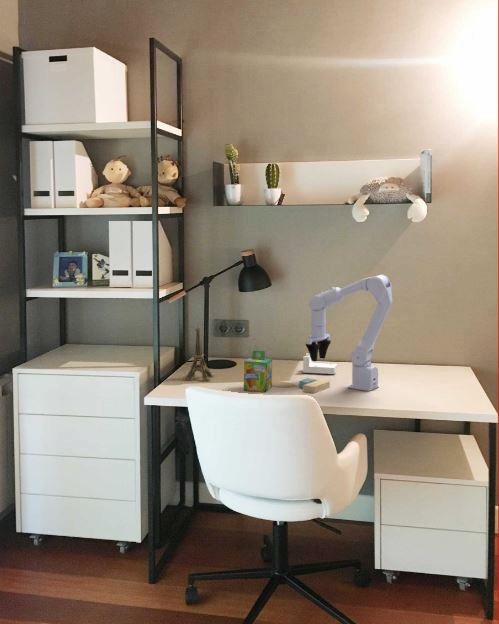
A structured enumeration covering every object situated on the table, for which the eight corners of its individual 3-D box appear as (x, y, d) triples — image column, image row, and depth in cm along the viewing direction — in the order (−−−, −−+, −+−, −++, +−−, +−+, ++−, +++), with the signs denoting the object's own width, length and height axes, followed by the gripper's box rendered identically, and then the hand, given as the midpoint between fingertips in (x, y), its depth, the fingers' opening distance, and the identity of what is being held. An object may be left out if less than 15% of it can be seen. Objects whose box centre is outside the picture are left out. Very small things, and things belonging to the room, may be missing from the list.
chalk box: (243, 391, 292) (243, 353, 290) (249, 385, 301) (249, 348, 299) (267, 392, 290) (267, 354, 288) (272, 386, 299) (272, 349, 297)
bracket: (303, 374, 320) (303, 356, 319) (306, 370, 327) (306, 353, 326) (334, 376, 317) (334, 358, 316) (336, 372, 324) (336, 354, 323)
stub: (316, 385, 300) (316, 379, 299) (307, 388, 295) (307, 382, 295) (307, 384, 302) (307, 377, 302) (299, 387, 297) (299, 380, 297)
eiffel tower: (189, 375, 319) (188, 315, 316) (214, 376, 318) (213, 316, 314) (183, 381, 309) (182, 319, 305) (209, 382, 307) (208, 320, 304)
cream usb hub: (329, 387, 297) (329, 381, 297) (314, 393, 288) (314, 386, 288) (318, 385, 300) (318, 379, 300) (303, 391, 291) (303, 384, 291)
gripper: (319, 322, 309) (319, 355, 311) (299, 327, 298) (299, 361, 300) (334, 323, 305) (334, 357, 307) (315, 328, 293) (314, 363, 295)
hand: (318, 359), depth 303 cm, fingers open, 6 cm apart
